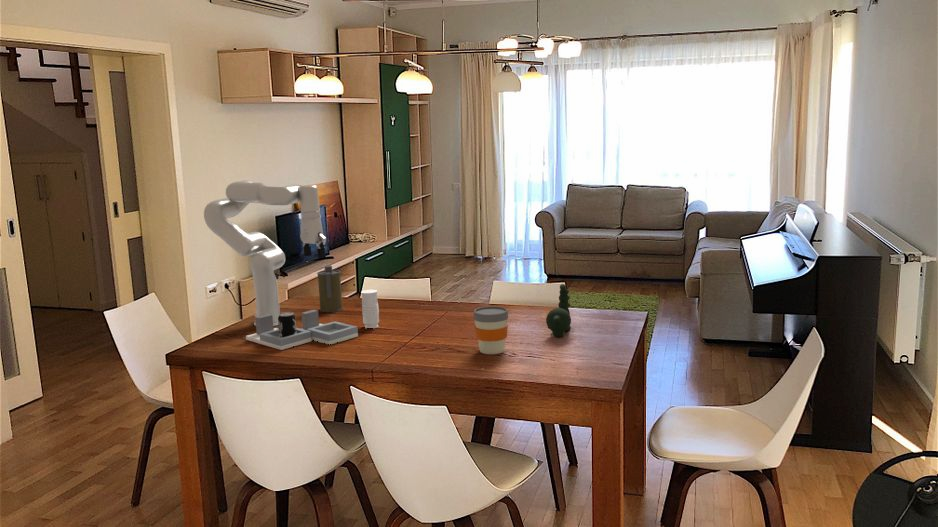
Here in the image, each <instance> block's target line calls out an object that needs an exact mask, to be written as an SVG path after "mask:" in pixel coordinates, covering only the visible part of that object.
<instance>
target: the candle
mask: <svg viewBox="0 0 938 527" xmlns="http://www.w3.org/2000/svg"><path fill="white" fill-rule="evenodd" d="M360 293H361V312H362V313H361V314H362V324H364V326H363V327H365V328H364V329H367V328H373V329H377V328H379V324H378V323H379V322H380V312H379V308H380V307H379V303H378V290H377V289H363V290H361V292H360Z"/></svg>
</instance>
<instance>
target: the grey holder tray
mask: <svg viewBox="0 0 938 527" xmlns="http://www.w3.org/2000/svg"><path fill="white" fill-rule="evenodd" d="M255 321H256V326H255V330H256V333H253V334H248V335H245V340H246V341H250V342H253V343H257V344H259V345H263V346H267V347H270V348H273V349H277V350H280V351H282V350H286V349H289V348H293V346H294V347H297V346H300V345H303V344H306V343H311V342H312V341H313V340H312V339H311V331H308V330H304V329H302V328H300V327H296V331H297V334H293V335H290V336H286V337H283V338H281V337H279V327H274V326H273V316H272V315H270V314H266V315H262V316H258V317H255V316H254V322H255Z"/></svg>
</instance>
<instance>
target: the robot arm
mask: <svg viewBox="0 0 938 527" xmlns="http://www.w3.org/2000/svg"><path fill="white" fill-rule="evenodd" d="M225 196H226V198H222V199H215V200H213V201H210V202H209V203H207V204H206V205H205V207H204V211H203V218H204V222H205V224H206V226H207V228H209V230H211V231H212V233H214V235H216V236H217V237H219V238H220V239H221V240H223V242H224V243H225V244H227V245H228V246H229V247H230V248H231V249H232V250H234V251H235V252H236V253H237V254H238V255H240V256H242V257H249V256H251V258H250V260H249V268H250V271H251V275H252V280H253V287H254V296H255V306H256V307H255V309H256V313H254V318H255V317H258V316H262V315H266V314H270V315H272V316H273V327H277V326H278V317H279V314H280V313H281V310H280V299H279V288H278V287H279V286H278V280H277V276H276V274H275V271H276V270H278V269H280V268H282V267H283V265H285V262H286V254H285V252H284V251H283V250H282V249H281V248H280V247H279V246H278V245H277V244H276V243H275V242H274V241H273V240H271V239H270V238H269V237H268V236H266V235H265V234H264V233H262V232H259V231H251V232H246V231H244V230H243V229H242V228H241V227H239V226H238V225H237V224H236V223H234V222H232V221H231V220H228V219H230V218H234V217H237V216H238V215H240V214H241V213H242V211H243V210H245V208H247V206H249V204H261V205H268V206H289V205H294V204H298V203H300V204H299V205H300V213H301V214H300V216H301V220H300V234H299V237H300V240H301V241H300V242H301V244H302V247H303V254H304V257H310V256H312V246H311V245H316V247H317V248H316V250H317V259H323V258H325V257H326V253H325V252H326V251H325V249H326V244H327V243H326V242H327V237H326V236H325V235H324V230H323V225H322V224H323V223H322V221H321V209H320V208H321V207H320V199H319V197H320V196H319V188H318V186H317V185H315V184H306V185H301V184H291V185H285V186H267V185H266V184H265V183H264V182H252V181H251V180H239V181H233V182H231V183H229V184H228V185H227V186H226V188H225ZM253 325H254V326H255V327H256V321H255V320H254V321H253Z"/></svg>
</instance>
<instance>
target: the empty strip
mask: <svg viewBox="0 0 938 527" xmlns="http://www.w3.org/2000/svg"><path fill="white" fill-rule="evenodd" d="M301 326H302V328H301V329H304V330H308V331H311V339H312V341H313V340H314V341H313V342H317V341H318V343H322V344H324V343H325V345H328V344H329V346H331V345H333V344H337V342H338V343H341V342H344V341H347V340H351V339H355V338H356V337H359V331H358V326H356V325H352V324H347V323H344V322H340V321H336V320H335V321H332V322H327V323H320V318H319V310H317V309H310V310H307V311H304V312H301ZM330 344H331V345H330Z"/></svg>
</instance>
